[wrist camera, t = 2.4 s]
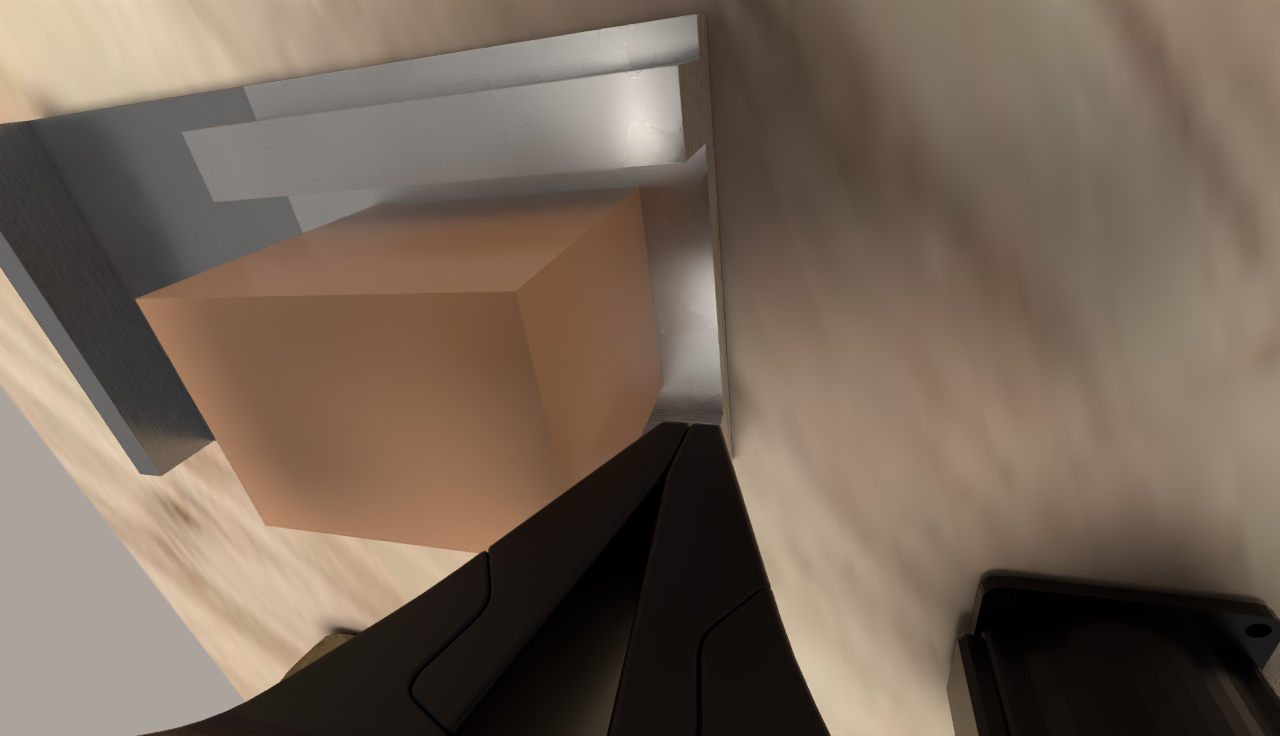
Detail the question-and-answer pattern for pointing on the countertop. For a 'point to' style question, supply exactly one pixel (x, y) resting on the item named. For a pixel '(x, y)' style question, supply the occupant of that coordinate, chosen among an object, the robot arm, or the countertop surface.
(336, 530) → the block
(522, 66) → the chute
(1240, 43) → the countertop surface
